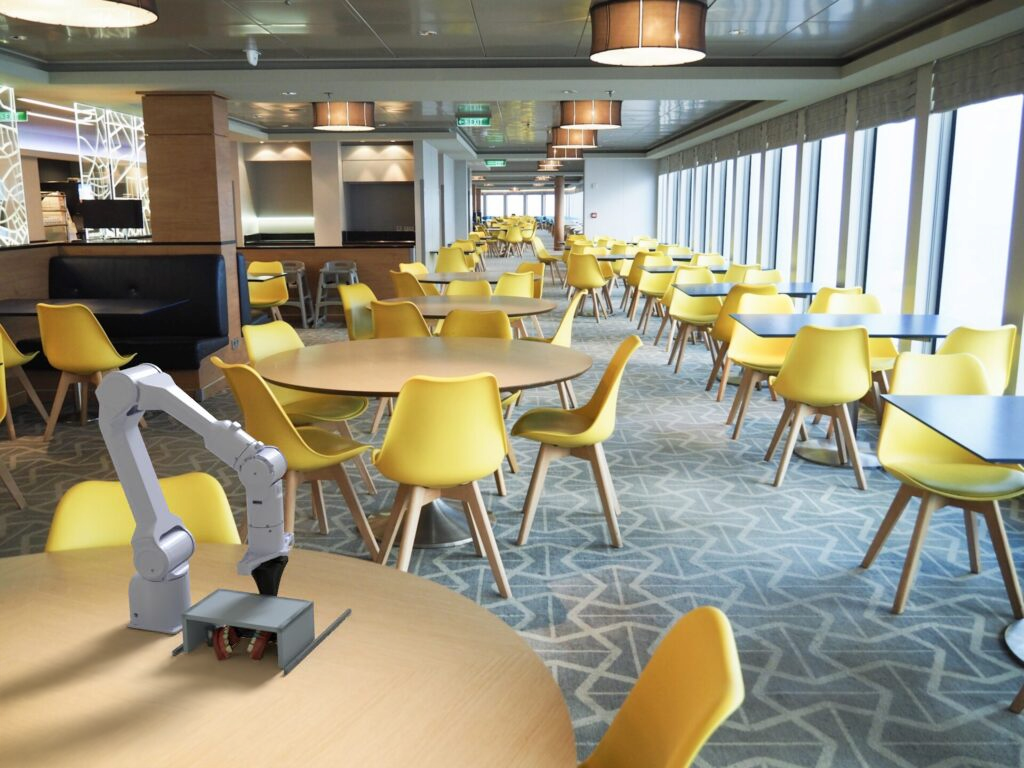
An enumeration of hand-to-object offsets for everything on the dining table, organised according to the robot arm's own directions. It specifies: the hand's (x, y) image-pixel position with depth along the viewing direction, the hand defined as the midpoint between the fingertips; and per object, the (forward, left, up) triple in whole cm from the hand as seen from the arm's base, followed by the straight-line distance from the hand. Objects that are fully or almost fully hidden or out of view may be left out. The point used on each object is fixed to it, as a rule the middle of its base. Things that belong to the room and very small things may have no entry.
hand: (269, 600), depth 145 cm
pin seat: (0, -1, -5) cm, 6 cm away
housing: (0, -6, -5) cm, 8 cm away
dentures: (0, -7, -6) cm, 9 cm away
